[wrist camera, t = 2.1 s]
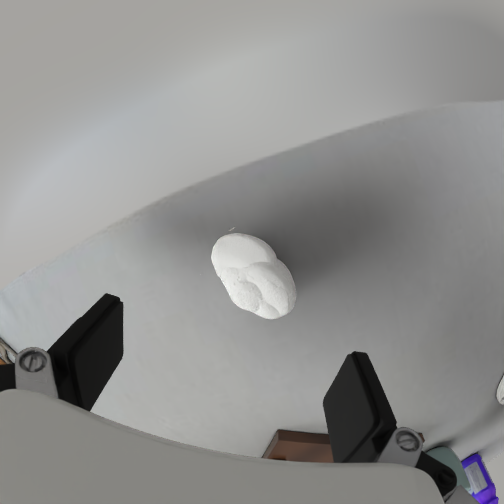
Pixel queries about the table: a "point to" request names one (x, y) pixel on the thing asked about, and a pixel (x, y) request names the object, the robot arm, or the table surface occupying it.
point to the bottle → (480, 480)
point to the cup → (451, 464)
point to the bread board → (301, 447)
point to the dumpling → (254, 275)
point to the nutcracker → (1, 347)
